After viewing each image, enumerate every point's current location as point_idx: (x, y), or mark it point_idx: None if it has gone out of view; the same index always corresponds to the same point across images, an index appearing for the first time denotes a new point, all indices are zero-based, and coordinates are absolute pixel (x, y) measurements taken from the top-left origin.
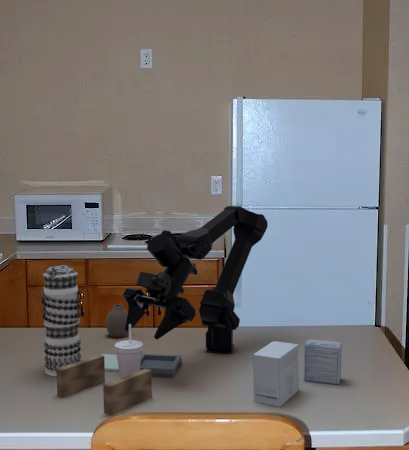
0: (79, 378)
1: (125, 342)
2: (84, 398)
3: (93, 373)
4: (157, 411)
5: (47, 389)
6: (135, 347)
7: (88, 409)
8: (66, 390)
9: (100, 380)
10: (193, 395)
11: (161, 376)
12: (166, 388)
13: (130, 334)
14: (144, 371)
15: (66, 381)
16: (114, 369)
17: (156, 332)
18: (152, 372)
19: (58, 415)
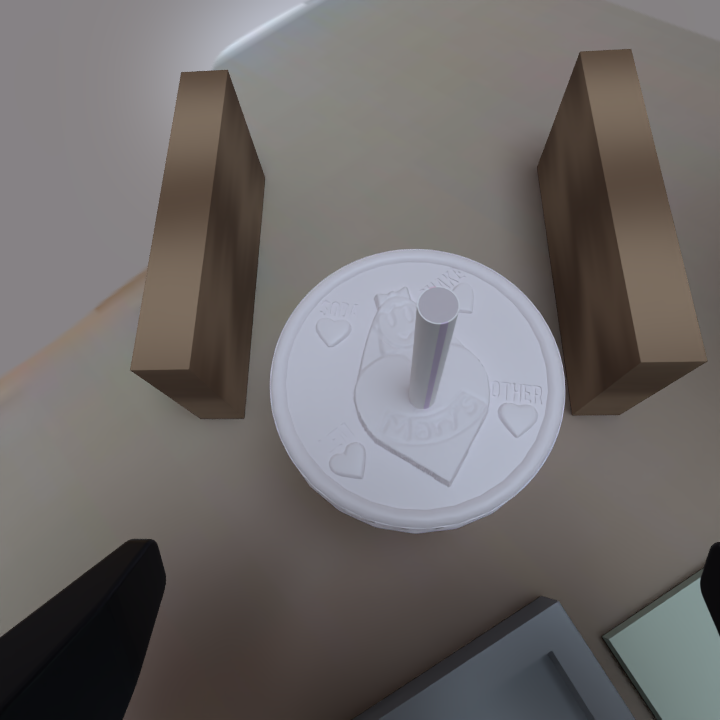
0: (569, 213)
1: (471, 373)
2: (455, 217)
3: (584, 306)
4: (84, 321)
5: (679, 177)
6: (299, 356)
7: (347, 165)
8: (547, 168)
9: (572, 378)
10: (20, 588)
11: (361, 714)
12: (211, 570)
13: (412, 355)
14: (157, 323)
15: (561, 135)
16: (694, 579)
17: (103, 578)
18: (417, 684)
19: (394, 75)
